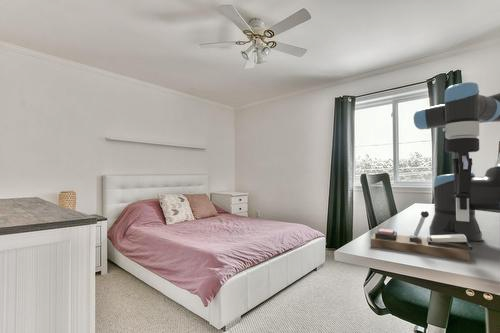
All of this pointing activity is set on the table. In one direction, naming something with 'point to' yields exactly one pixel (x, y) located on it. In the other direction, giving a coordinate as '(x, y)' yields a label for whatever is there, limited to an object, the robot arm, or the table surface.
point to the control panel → (421, 245)
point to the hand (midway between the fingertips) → (462, 220)
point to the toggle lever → (421, 222)
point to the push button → (386, 231)
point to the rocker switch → (449, 238)
